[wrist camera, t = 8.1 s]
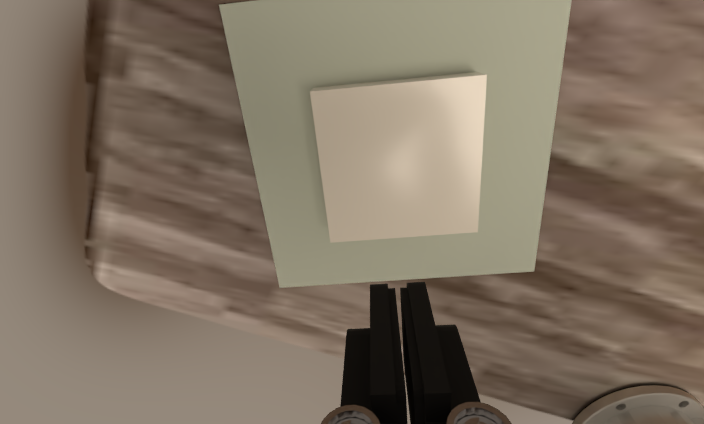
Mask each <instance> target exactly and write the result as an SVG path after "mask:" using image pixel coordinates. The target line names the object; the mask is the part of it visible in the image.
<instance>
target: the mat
mask: <svg viewBox="0 0 704 424" xmlns="http://www.w3.org/2000/svg"><path fill="white" fill-rule="evenodd" d="M571 1H572V0H256V1H247V2H238V3H229V4H220V5H219V7H220V12H221V17H222V21H223V26H224V31H225V35H226V40H227V45H228V49H229V54H230V59H231V63H232V68H233V73H234V77H235V82H236V87H237V91H238V96H239V100H240V105H241V110H242V114H243V119H244V124H245V128H246V133H247V138H248V142H249V147H250V152H251V156H252V161H253V166H254V170H255V175H256V180H257V184H258V189H259V194H260V198H261V203H262V208H263V212H264V217H265V222H266V226H267V231H268V236H269V240H270V245H271V250H272V254H273V259H274V264H275V268H276V273H277V278H278V282H279V287H280V288H285V287H301V286H316V285H332V284H347V283H363V282H378V281H394V280H409V279H424V278H440V277H455V276H471V275H486V274H502V273H517V272H533V271H534V269H535V262H536V254H537V247H538V240H539V233H540V225H541V218H542V211H543V204H544V197H545V189H546V182H547V175H548V168H549V160H550V153H551V146H552V139H553V131H554V124H555V117H556V110H557V102H558V95H559V88H560V81H561V73H562V66H563V59H564V52H565V44H566V37H567V30H568V23H569V15H570V8H571ZM474 72H479V73H483V74H486V75H487V83H486V100H485V117H484V135H483V152H482V169H481V186H480V204H479V221H478V232H473V233H459V234H445V235H431V236H417V237H403V238H389V239H375V240H361V241H347V242H333V243H330V236H329V229H328V221H327V214H326V207H325V199H324V192H323V184H322V177H321V170H320V162H319V155H318V147H317V140H316V133H315V125H314V118H313V110H312V103H311V96H310V91H311V90H312V89H313V88H317V87H328V86H338V85H349V84H359V83H370V82H380V81H390V80H401V79H411V78H422V77H432V76H443V75H453V74H463V73H474Z"/></svg>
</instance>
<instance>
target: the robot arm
mask: <svg viewBox="0 0 704 424" xmlns="http://www.w3.org/2000/svg"><path fill="white" fill-rule="evenodd" d="M400 293H401V314H402V335H403V355H404V367H405V376H406V386H407V395H408V404H409V413H410V422H411V424H511V422H510V421H509V419H508V418H507V417H506V416H505V415H504V414H503V413H501V412H500V411H499V410H498V409H496V408H494V407H492V406H490V405H488V404H485V403H481V402H480V399H479V396H478V393H477V389H476V386H475V383H474V380H473V377H472V374H471V370H470V367H469V364H468V361H467V358H466V354H465V351H464V348H463V345H462V342H461V339H460V335H459V332H458V329H457V327H456V325H436V326H435V322H434V318H433V314H432V309H431V305H430V301H429V297H428V293H427V289H426V284H425V282H414V283H407V288H400ZM321 424H407V408H406V392H405V380H404V371H403V361H402V352H401V342H400V333H399V323H398V313H397V304H396V294H395V288H389V289H388V284H375V285H370V328H364V329H348V330H347V335H346V347H345V359H344V371H343V385H342V395H341V407H339V408H336V409H335V410H333V411H332V412H330V413H329V414H328V415H327V416H326V417H325V418H324V420H323V421H322V423H321ZM572 424H704V407H703V406H702V405H701V404H700V403H699V401H698V400H697V399H696V398H694V397H693V396H692V395H691V394H689V393H687V392H685V391H683V390H681V389H677V388H673V387H669V386H658V385H648V386H637V387H632V388H627V389H623V390H620V391H616V392H613V393H611V394H609V395H606V396H604V397H602V398H600V399H598V400H597V401H595V402H593V403H592V404H590V405H589V406H588V407H586V408H585V409H584V410H583V411H582V412H581V413H580V414H579V415H578V416H577V417H576V418H575V420H574V421H573V423H572Z"/></svg>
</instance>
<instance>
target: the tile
mask: <svg viewBox="0 0 704 424" xmlns="http://www.w3.org/2000/svg"><path fill="white" fill-rule="evenodd" d="M486 83H487V75H486V74H483V73H479V72H474V73H463V74H453V75H443V76H432V77H422V78H411V79H401V80H390V81H380V82H370V83H359V84H349V85H338V86H328V87H317V88H313V89H312V90H311V91H310V96H311V103H312V110H313V118H314V125H315V133H316V140H317V147H318V155H319V162H320V170H321V177H322V184H323V192H324V199H325V207H326V214H327V221H328V229H329V236H330V243H333V242H347V241H361V240H375V239H389V238H403V237H417V236H431V235H445V234H459V233H473V232H478V221H479V204H480V186H481V169H482V152H483V135H484V117H485V100H486Z"/></svg>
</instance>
